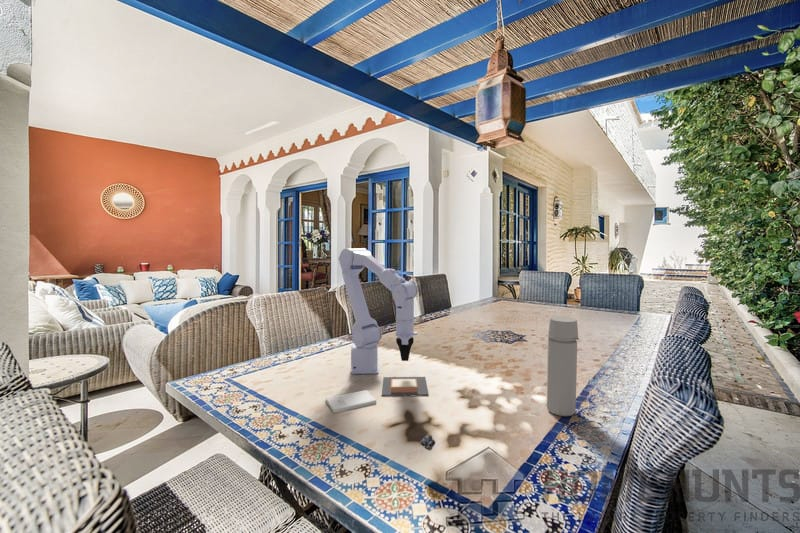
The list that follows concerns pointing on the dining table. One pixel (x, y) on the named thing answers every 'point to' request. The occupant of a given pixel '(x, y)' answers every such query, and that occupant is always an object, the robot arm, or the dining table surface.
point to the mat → (421, 390)
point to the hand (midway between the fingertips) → (404, 360)
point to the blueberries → (428, 442)
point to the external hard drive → (350, 401)
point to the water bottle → (562, 366)
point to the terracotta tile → (403, 385)
